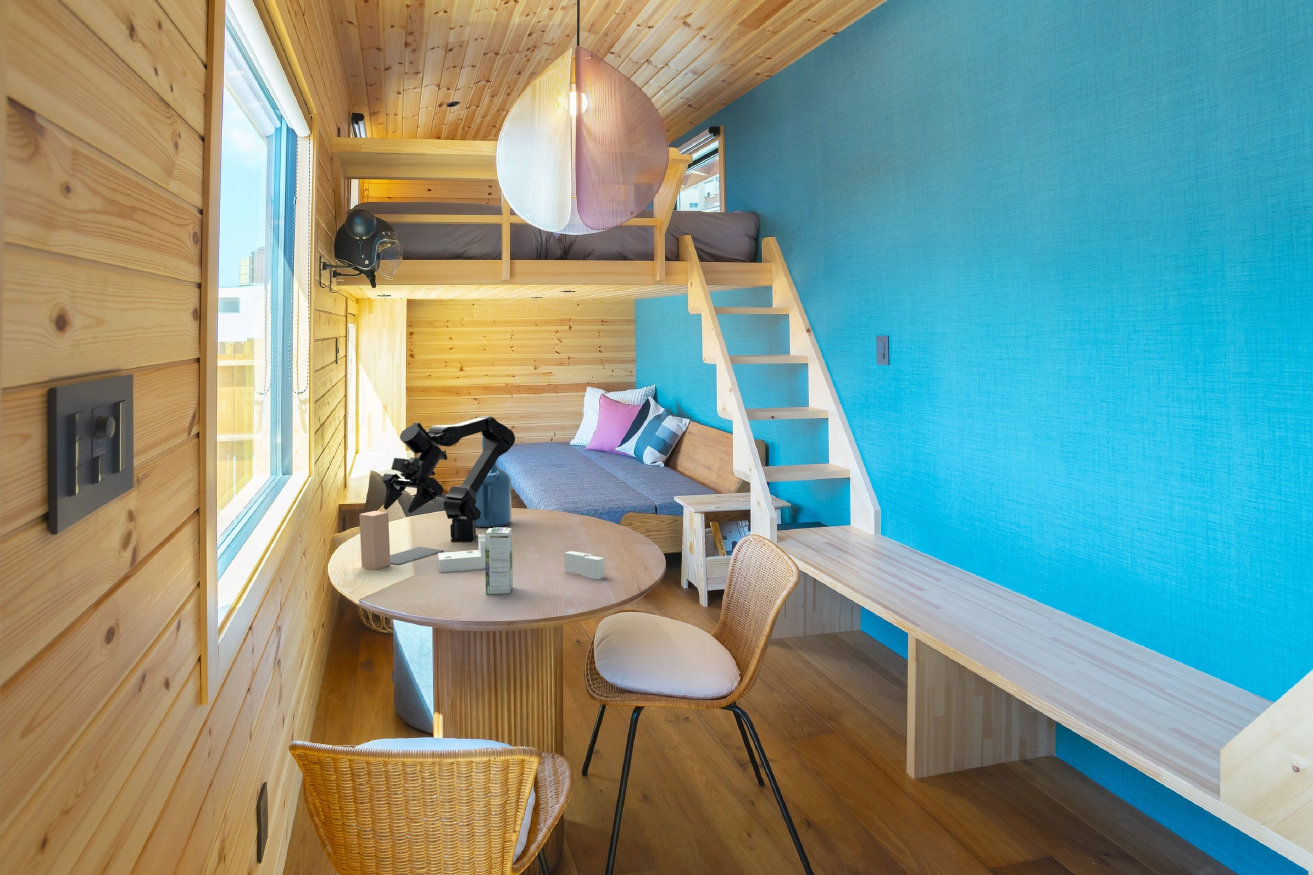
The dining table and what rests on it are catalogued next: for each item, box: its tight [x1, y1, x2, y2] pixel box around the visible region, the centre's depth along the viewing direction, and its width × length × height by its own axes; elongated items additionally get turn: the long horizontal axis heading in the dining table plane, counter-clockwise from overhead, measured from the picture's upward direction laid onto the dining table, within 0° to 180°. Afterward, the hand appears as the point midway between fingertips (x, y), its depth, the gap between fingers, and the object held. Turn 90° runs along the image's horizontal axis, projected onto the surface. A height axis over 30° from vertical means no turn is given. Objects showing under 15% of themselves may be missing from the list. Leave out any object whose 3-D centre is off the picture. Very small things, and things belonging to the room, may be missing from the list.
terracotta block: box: [358, 510, 391, 571], centre depth 212 cm, size 5×5×14 cm
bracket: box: [437, 533, 486, 573], centre depth 211 cm, size 13×7×8 cm, turn 108°
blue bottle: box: [475, 436, 513, 529], centre depth 260 cm, size 14×13×30 cm
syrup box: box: [484, 526, 514, 595], centre depth 190 cm, size 6×6×14 cm
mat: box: [390, 546, 444, 566], centre depth 223 cm, size 16×9×1 cm, turn 151°
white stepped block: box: [564, 550, 605, 580], centre depth 203 cm, size 15×11×6 cm
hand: (396, 510), depth 218 cm, fingers open, 9 cm apart
